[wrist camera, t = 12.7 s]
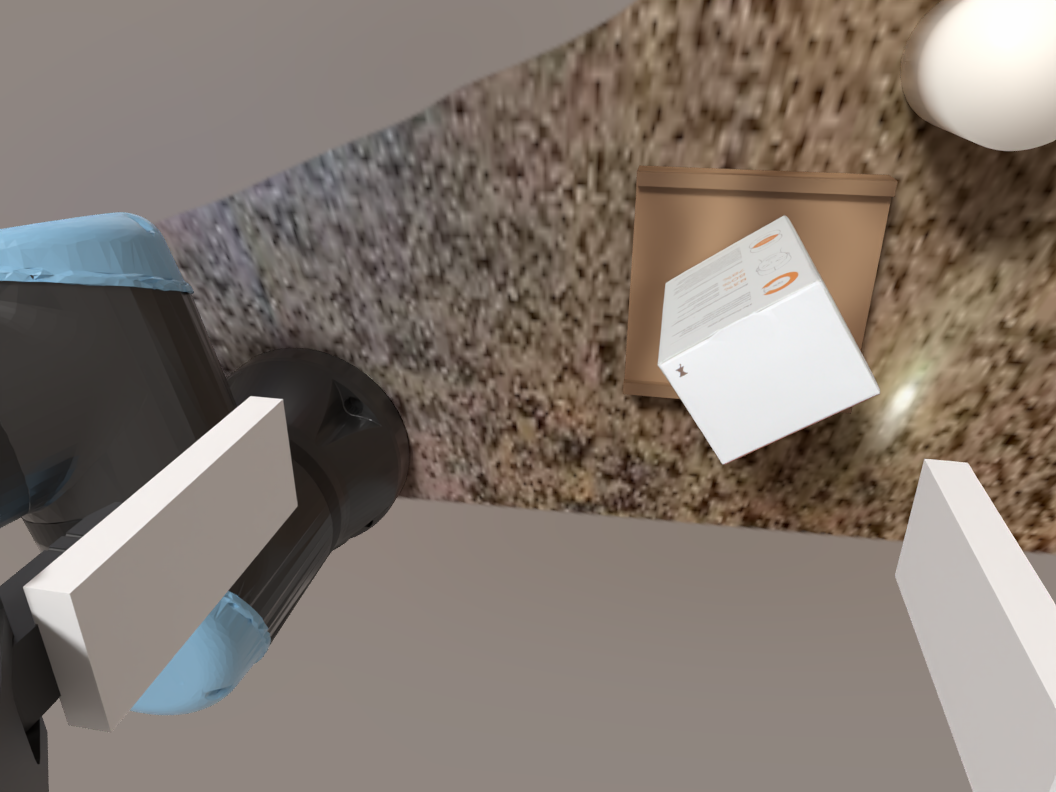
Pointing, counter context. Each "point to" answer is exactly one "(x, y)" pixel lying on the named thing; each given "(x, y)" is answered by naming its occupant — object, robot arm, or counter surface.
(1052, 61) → the white cylinder
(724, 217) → the walnut board
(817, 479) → the counter surface
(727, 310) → the small box
